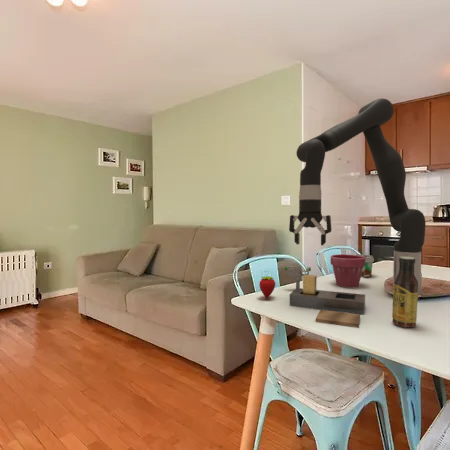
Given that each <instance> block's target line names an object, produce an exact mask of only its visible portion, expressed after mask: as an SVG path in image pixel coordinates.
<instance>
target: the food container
mask: <svg viewBox="0 0 450 450" xmlns="http://www.w3.org/2000/svg"><path fill="white" fill-rule="evenodd" d="M355 255H358V256H364V257H365V266H364V267H363V270H362V274H361V278H363V279H369V278H372V274H373V273H372V271H373V263H374V262H375V260H374V259H375V258H374V256H373V255H370V254H361V253H360V254H355Z"/></svg>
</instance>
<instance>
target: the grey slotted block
mask: <svg viewBox="0 0 450 450" xmlns="http://www.w3.org/2000/svg"><path fill="white" fill-rule="evenodd" d="M289 306H290V307H297V308H305V309H306V308H307V309H312V308H313V309H314V310H326V311H335V312H343V313H351V314H360V315H365V309H366V294H362V293H353V292H341V291H340V292H339V291H332V290H322V289H320V290H319V289H316V296H314V295H304V294H303V287H302V288H301V287H300V288H296V287H295V288H294V290H292V291H291V293H289Z"/></svg>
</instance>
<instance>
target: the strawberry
mask: <svg viewBox="0 0 450 450" xmlns="http://www.w3.org/2000/svg"><path fill="white" fill-rule="evenodd" d="M268 274H269V273H268ZM268 274H266V275H265V276H260V278H261V279H260V280H259V283H258V284H259V288H260V291H261V293H262V294H263V296H264V297H265V299H269V298H270V296H271V295H272V293H273V292H274V290H275V287H276V281H275V278H273V277H272V276H269V275H268Z"/></svg>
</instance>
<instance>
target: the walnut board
mask: <svg viewBox="0 0 450 450" xmlns="http://www.w3.org/2000/svg"><path fill="white" fill-rule="evenodd" d="M360 320H361V314H354V313H346V312H337V311H329V310H321V309H319V312H318V313H317V315H316V317H315V322H316V323H322V324H323V323H324V324H328V325H335V326H337V325H338V326H345V327H351V328H352V327H353V328H359V327H360Z"/></svg>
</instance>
